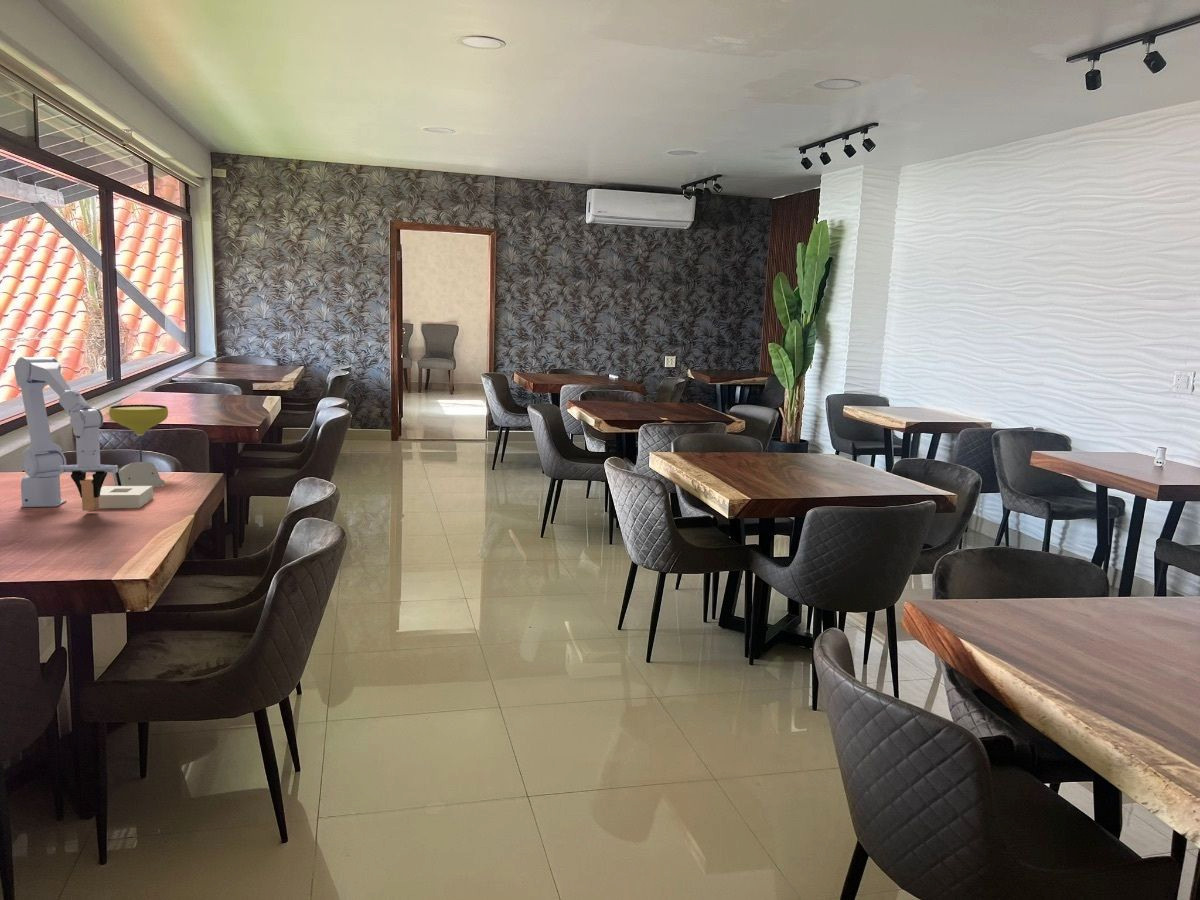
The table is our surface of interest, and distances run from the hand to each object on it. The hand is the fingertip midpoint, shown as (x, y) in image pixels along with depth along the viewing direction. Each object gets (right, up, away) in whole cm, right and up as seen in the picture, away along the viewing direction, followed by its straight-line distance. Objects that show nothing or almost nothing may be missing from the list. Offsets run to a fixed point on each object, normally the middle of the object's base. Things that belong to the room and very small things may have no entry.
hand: (90, 497), depth 242 cm
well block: (0, -3, +15) cm, 15 cm away
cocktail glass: (-16, +4, +56) cm, 58 cm away
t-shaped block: (0, -4, +1) cm, 4 cm away
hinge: (-6, 0, +37) cm, 37 cm away
